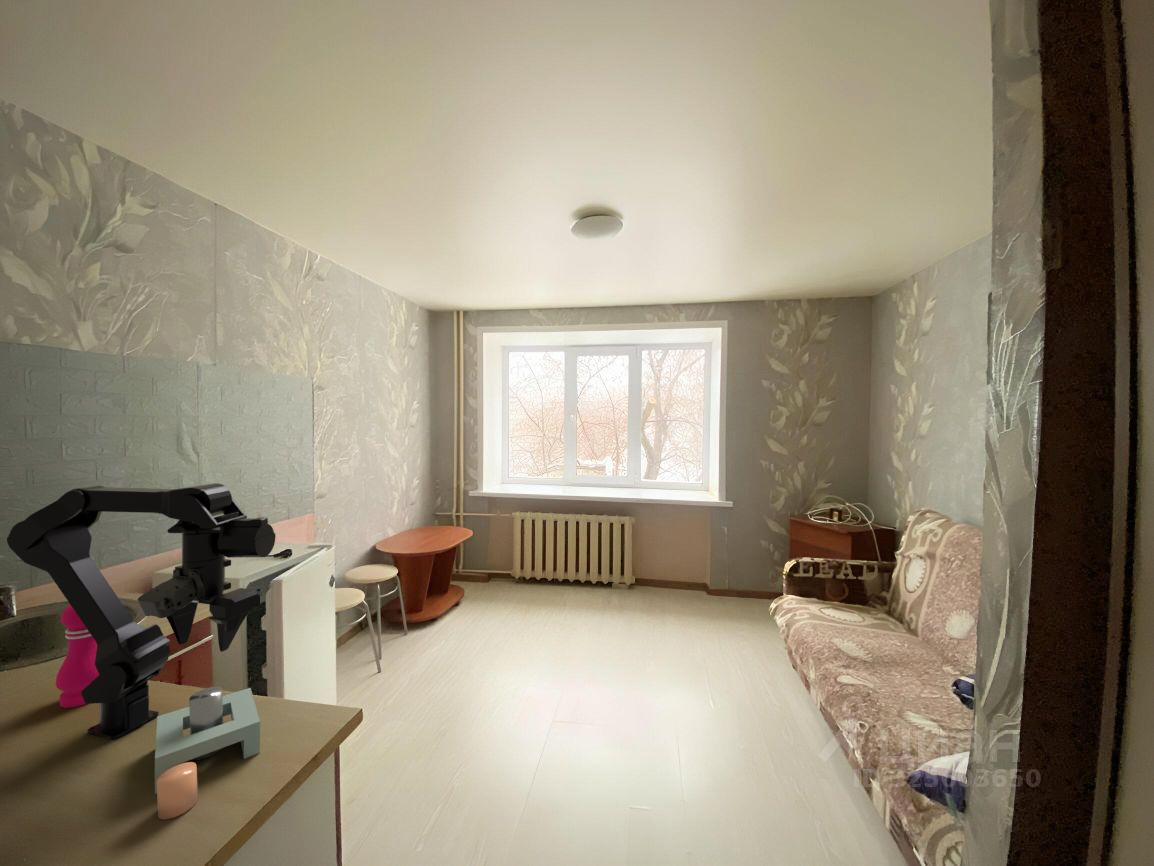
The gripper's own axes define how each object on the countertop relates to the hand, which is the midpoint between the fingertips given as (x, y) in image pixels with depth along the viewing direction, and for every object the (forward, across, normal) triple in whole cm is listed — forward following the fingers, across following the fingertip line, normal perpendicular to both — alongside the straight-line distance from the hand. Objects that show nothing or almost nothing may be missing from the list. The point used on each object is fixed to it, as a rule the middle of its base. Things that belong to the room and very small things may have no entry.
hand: (203, 647), depth 77 cm
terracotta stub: (+13, +15, -14) cm, 24 cm away
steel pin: (+13, +8, -5) cm, 16 cm away
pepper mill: (+13, -28, 0) cm, 31 cm away
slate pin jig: (+13, +8, -5) cm, 16 cm away
